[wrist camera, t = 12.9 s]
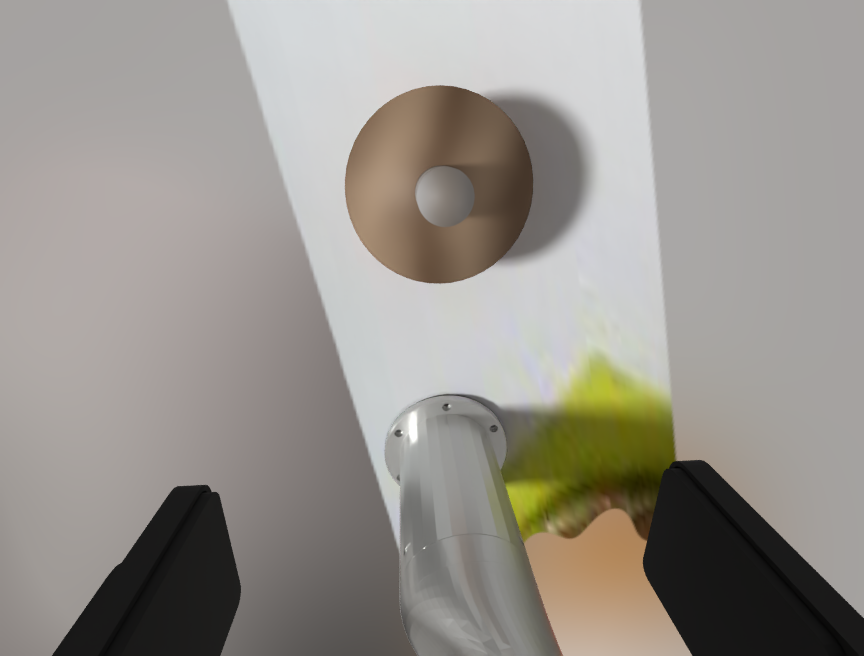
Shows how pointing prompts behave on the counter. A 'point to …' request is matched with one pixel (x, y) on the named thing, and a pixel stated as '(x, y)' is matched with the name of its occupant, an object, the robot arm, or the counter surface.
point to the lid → (439, 184)
